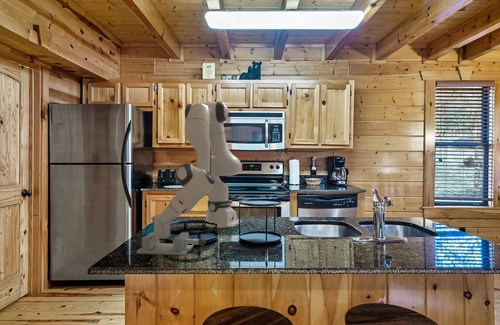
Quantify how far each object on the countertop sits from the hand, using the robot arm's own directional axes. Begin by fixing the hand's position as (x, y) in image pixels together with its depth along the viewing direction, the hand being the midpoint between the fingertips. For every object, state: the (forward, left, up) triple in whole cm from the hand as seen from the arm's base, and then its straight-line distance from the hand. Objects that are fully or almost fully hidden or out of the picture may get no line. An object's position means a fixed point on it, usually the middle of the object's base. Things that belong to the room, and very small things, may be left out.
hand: (160, 225), depth 136 cm
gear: (-11, -15, -11) cm, 22 cm away
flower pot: (-19, -19, -11) cm, 29 cm away
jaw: (-5, +12, -9) cm, 16 cm away
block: (0, +1, -5) cm, 5 cm away
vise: (-1, +2, -10) cm, 11 cm away
